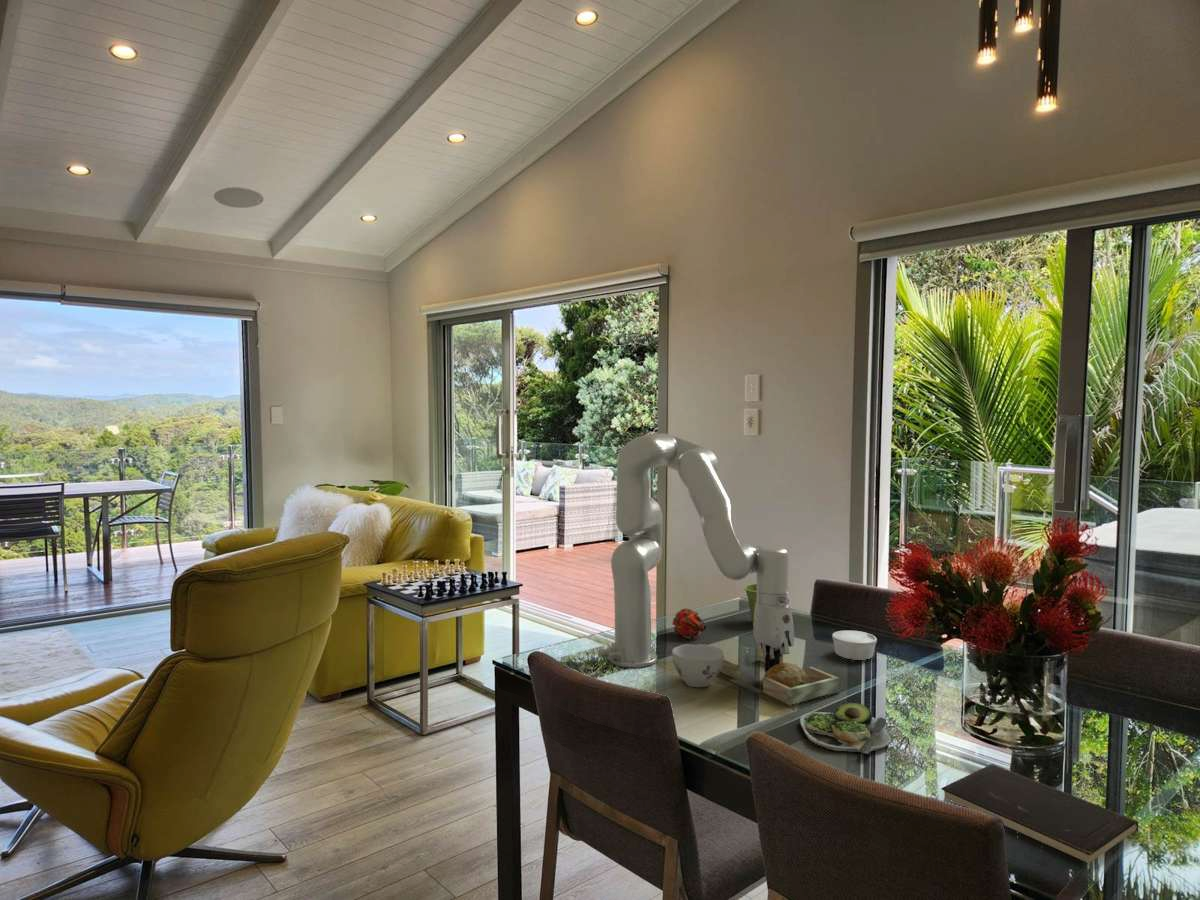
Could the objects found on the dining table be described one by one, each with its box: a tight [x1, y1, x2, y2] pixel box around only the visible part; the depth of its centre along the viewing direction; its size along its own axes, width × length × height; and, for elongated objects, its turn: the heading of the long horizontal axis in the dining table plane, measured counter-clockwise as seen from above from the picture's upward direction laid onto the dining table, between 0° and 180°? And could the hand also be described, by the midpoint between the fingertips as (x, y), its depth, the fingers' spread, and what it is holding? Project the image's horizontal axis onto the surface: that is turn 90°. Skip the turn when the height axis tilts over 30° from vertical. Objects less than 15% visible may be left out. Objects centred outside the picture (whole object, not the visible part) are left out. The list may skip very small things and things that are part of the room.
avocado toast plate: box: [799, 702, 892, 755], centre depth 152 cm, size 19×18×5 cm
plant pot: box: [743, 583, 757, 623], centre depth 233 cm, size 12×12×11 cm
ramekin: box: [831, 629, 878, 661], centre depth 203 cm, size 11×11×5 cm
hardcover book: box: [941, 763, 1139, 864], centre depth 124 cm, size 16×23×2 cm
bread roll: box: [762, 662, 810, 688], centre depth 179 cm, size 10×10×8 cm
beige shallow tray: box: [719, 646, 841, 706], centre depth 184 cm, size 19×27×4 cm
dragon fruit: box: [672, 608, 707, 640], centre depth 221 cm, size 8×8×12 cm
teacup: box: [671, 643, 725, 688], centre depth 184 cm, size 15×12×8 cm
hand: (772, 672), depth 185 cm, fingers closed
